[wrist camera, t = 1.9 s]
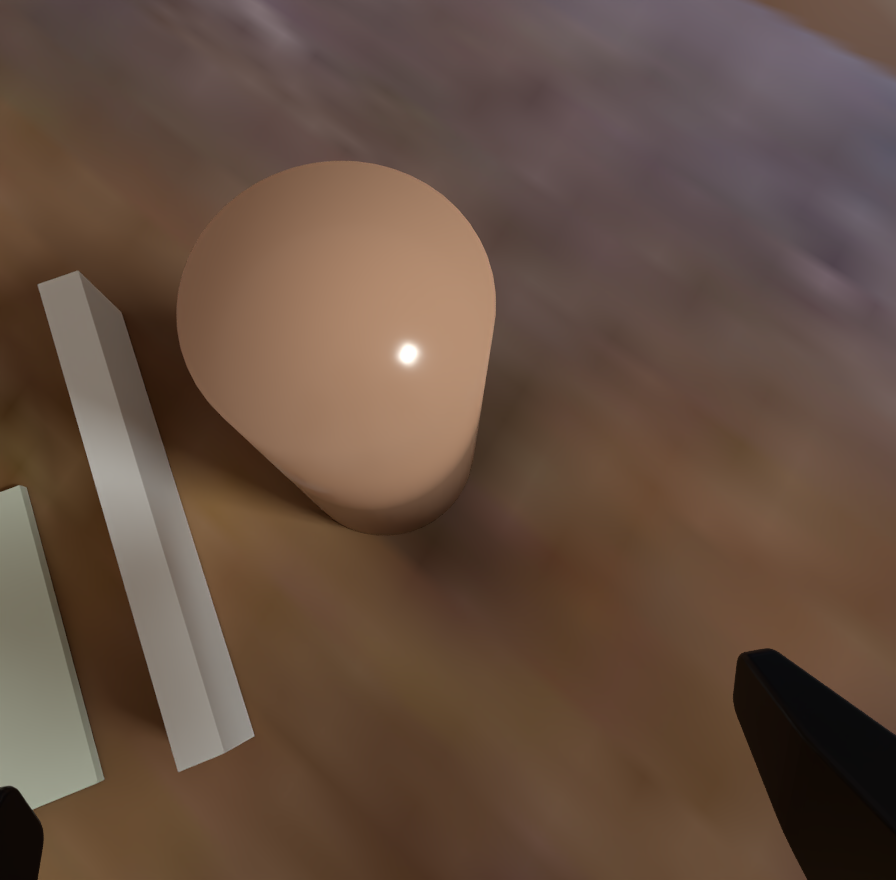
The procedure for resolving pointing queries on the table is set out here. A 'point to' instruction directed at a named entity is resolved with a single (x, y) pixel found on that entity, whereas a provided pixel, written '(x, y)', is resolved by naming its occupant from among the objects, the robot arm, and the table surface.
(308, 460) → the tan round cylinder
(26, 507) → the tile
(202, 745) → the low wall
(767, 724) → the robot arm
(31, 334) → the table surface
